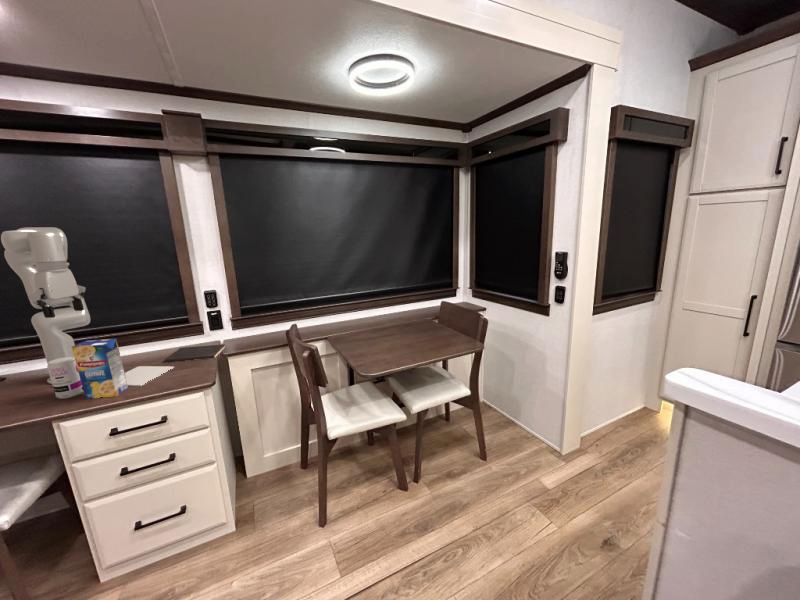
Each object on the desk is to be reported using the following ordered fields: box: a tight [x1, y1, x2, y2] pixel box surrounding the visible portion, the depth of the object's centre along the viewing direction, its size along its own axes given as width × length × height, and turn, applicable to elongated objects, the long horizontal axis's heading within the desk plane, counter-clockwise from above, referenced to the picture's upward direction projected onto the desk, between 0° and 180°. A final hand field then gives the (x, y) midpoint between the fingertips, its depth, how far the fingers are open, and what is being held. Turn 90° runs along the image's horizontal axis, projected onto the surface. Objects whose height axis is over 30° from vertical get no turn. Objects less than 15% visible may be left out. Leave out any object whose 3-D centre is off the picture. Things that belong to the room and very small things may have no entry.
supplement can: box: [46, 357, 84, 400], centre depth 125 cm, size 8×8×15 cm
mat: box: [125, 365, 175, 387], centre depth 142 cm, size 18×18×1 cm
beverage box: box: [72, 338, 129, 400], centre depth 125 cm, size 7×11×22 cm, turn 100°
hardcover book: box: [164, 343, 226, 363], centre depth 165 cm, size 16×23×2 cm
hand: (65, 313), depth 113 cm, fingers open, 9 cm apart
